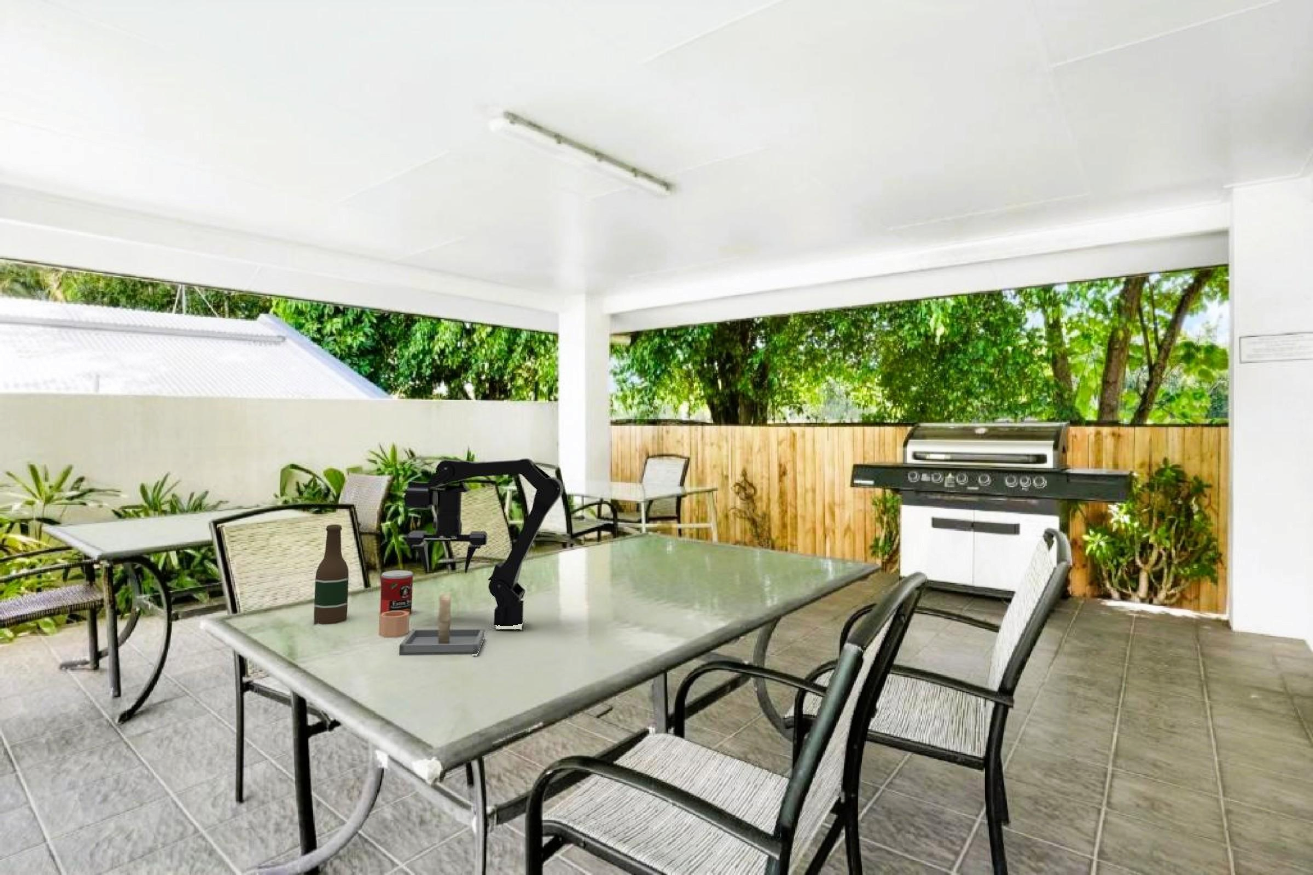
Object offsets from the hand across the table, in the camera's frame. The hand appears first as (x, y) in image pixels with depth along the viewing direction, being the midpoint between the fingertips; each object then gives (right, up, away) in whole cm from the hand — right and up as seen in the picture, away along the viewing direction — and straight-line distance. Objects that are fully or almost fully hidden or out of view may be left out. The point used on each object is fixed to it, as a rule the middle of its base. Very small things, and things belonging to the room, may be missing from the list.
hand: (446, 572), depth 161 cm
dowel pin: (+5, -12, -17) cm, 22 cm away
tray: (+5, -13, -17) cm, 22 cm away
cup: (-9, -13, -9) cm, 18 cm away
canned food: (-16, -13, +8) cm, 22 cm away
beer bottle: (-29, -12, 0) cm, 31 cm away
